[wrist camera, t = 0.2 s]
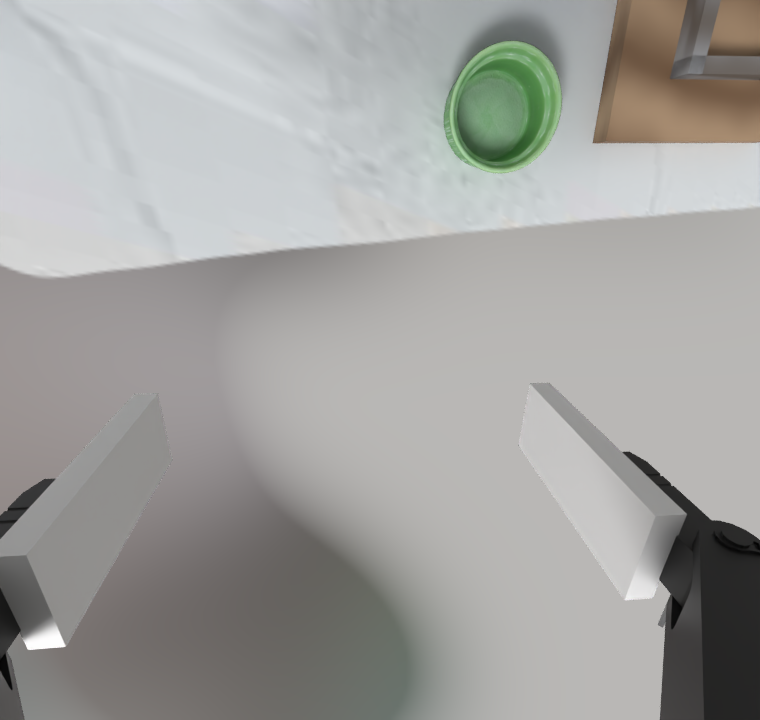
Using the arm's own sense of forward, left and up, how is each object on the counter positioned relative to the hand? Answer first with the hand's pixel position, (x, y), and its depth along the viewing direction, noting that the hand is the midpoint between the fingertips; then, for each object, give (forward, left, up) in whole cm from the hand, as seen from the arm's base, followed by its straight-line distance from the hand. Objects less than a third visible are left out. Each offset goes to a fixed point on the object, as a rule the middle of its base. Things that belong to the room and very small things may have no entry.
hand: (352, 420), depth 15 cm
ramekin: (-13, +13, -28) cm, 34 cm away
